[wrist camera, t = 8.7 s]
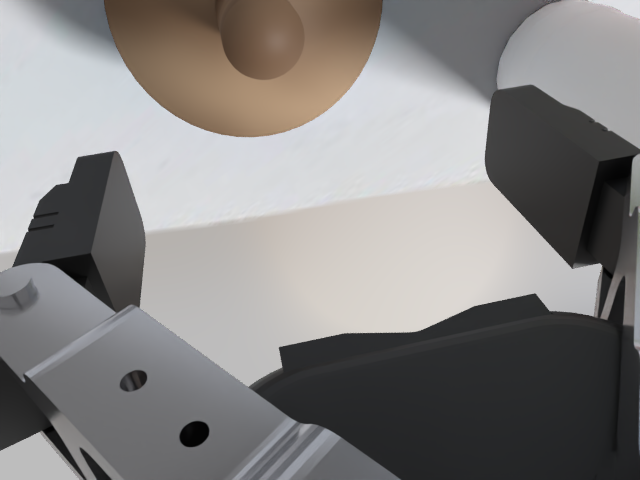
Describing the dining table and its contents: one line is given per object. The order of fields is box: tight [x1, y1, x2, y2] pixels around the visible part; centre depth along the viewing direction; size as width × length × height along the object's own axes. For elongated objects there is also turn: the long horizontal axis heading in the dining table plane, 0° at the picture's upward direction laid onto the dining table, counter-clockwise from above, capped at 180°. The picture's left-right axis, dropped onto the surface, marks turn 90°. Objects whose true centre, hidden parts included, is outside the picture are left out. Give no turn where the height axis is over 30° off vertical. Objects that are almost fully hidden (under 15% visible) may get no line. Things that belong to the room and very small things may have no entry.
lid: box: [104, 0, 383, 137], centre depth 22 cm, size 12×12×6 cm
